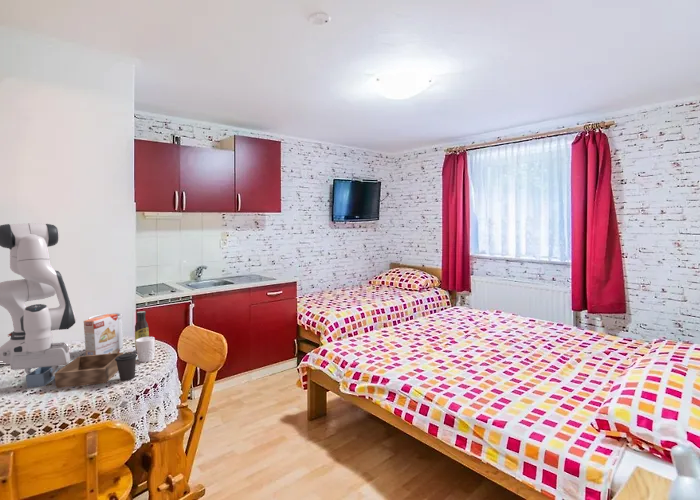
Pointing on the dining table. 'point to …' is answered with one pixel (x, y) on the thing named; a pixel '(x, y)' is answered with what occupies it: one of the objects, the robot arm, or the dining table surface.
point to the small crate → (39, 377)
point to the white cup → (145, 349)
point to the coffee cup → (126, 366)
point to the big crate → (87, 370)
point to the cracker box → (102, 335)
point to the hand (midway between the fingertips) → (42, 377)
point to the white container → (118, 326)
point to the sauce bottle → (141, 326)
